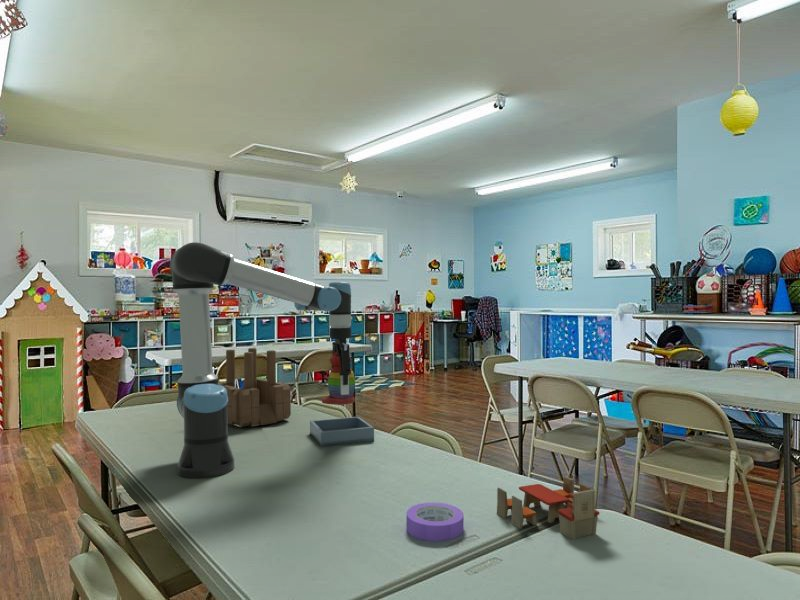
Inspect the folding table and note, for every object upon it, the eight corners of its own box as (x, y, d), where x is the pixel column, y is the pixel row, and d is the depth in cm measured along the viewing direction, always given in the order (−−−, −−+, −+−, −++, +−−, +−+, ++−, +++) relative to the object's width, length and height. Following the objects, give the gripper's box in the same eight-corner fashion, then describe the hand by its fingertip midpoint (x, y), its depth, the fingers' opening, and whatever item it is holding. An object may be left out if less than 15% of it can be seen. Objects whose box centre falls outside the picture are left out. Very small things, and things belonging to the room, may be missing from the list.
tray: (374, 440, 180) (374, 427, 180) (321, 446, 174) (320, 432, 174) (358, 428, 197) (358, 416, 197) (310, 433, 190) (309, 420, 190)
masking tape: (474, 530, 110) (474, 511, 110) (440, 550, 102) (439, 530, 102) (430, 515, 118) (430, 497, 118) (394, 532, 110) (394, 514, 110)
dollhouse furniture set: (562, 501, 126) (561, 459, 126) (624, 533, 108) (623, 485, 108) (492, 514, 118) (491, 470, 118) (546, 551, 101) (546, 499, 101)
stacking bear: (341, 398, 193) (341, 348, 193) (362, 401, 186) (361, 350, 186) (319, 402, 185) (318, 351, 184) (339, 406, 178) (339, 352, 178)
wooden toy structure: (241, 428, 198) (241, 355, 198) (207, 416, 220) (207, 349, 220) (295, 419, 214) (294, 350, 214) (258, 408, 236) (257, 346, 236)
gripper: (359, 328, 176) (360, 396, 176) (342, 325, 197) (343, 386, 197) (337, 328, 173) (338, 398, 174) (322, 325, 194) (323, 387, 194)
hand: (341, 392), depth 185 cm, fingers closed on stacking bear, 9 cm apart
